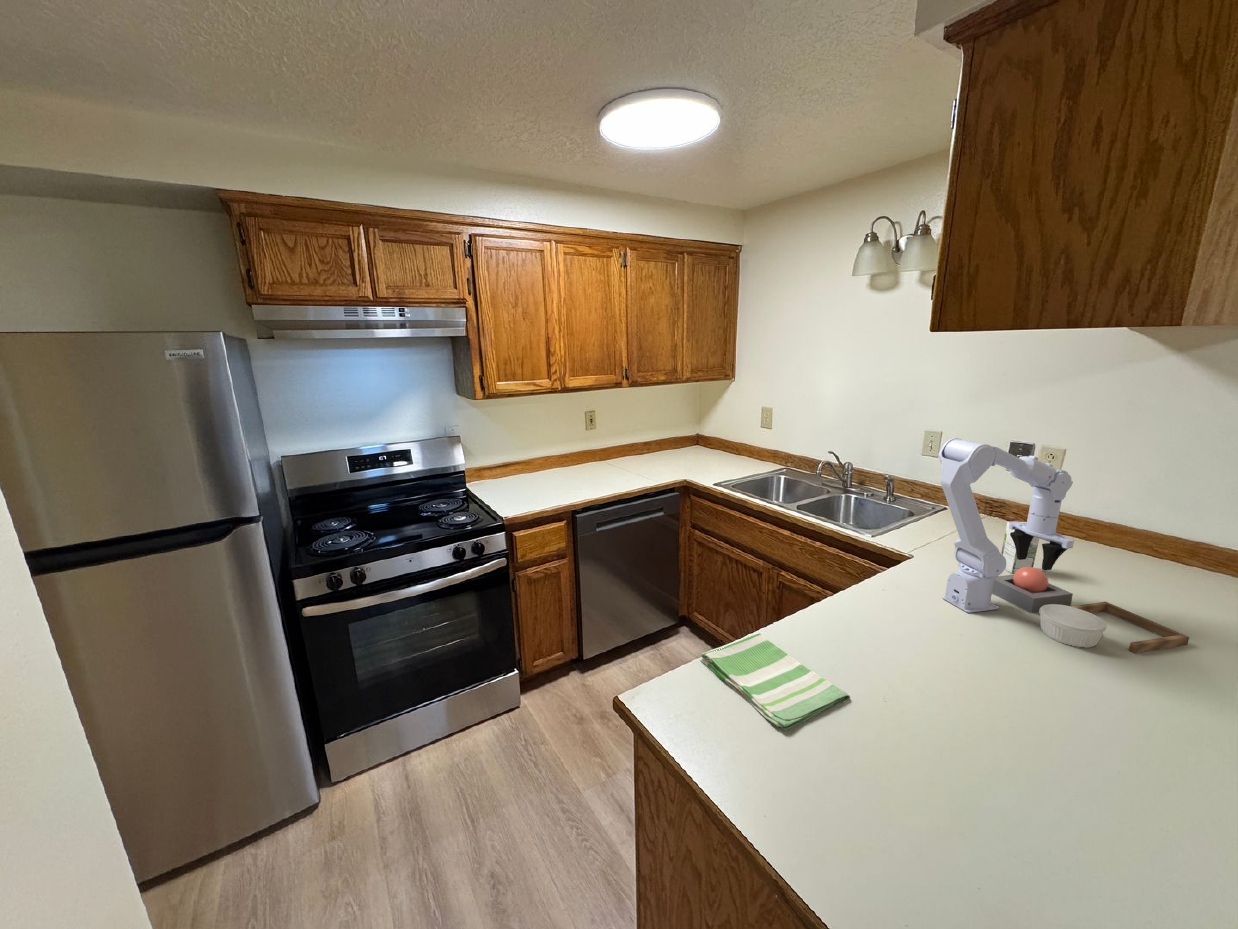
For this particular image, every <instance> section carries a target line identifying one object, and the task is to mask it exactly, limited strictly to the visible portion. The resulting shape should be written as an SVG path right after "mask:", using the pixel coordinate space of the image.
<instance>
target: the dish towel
mask: <svg viewBox="0 0 1238 929" xmlns="http://www.w3.org/2000/svg"><path fill="white" fill-rule="evenodd" d="M748 636H749V637H748ZM748 636H746V637H743V638H740V639H737V640H735V641H733V642H729V643H726V644H725V645H722V646H719V647H716V648H713V649H711V650H708V651H705V652H702V653H701V658H702V659H700V662H702V663H703V664H704V665H706V666H707V668H708V669H710V670H711V671H712V672H713V673H714V674H716V676H717V677H719V678H720V679H721V680H723V681H724V682H725V683H726V684H728V685H729V686H730V688H732V689H733V690H734V691H735V692H736V693H737V695H739V696H741V697H742V698H744V699H745V700H746V701H747V702H748V703H749V704H750V705H752V707H753V708H754V709H755V710H756V711H758V712H759V713H760V714H761V715H762V716H763V717H764V718H765V719H766V720H768V721H769V722H771V723H772V724H774V725H775V726H776V727H779V728H781V729H782V730H783V731H787V730H789V729H792V728H793V727H796V726H798V725H799V724H802V723H803V722H805V721H807V720H809V719H810V718H813V717H815V716H816V715H817V714H820V713H821V712H823V711H825V710H826V709H827V708H829V707H832V706H833V705H834V706H833V708H834V707H837V706H839V705H841V702H840V701H842V703H846V702H848V701H849V700H850V699H851V696H850V695H849V694H848V693H847V692H846V691H844V690H842V689H841V688H840V687H837V686H836V685H835V684H833V683H831V682H830V681H828V680H827V679H825V678H824V677H821V675H819V674H817V673H815V671H813V670H811V669H810V668H808V667H806V666H805V665H804V664H802V663H800V662H799V661H798V660H796V659H794V658H793V657H792V656H790V655H789V654H788V653H787V652H785V651H784V650H783V649H781V648H780V647H778V646H777V645H776V644H774V643H773V642H772V641H770V640H769V639H767V638H766V637H764V636H763V635H762V634H761V633H760V632H755V633H753V634H751V635H748ZM723 647H724V648H723ZM721 648H722V649H721ZM719 649H720V650H719ZM716 650H717V651H716ZM714 651H715V652H714ZM838 702H839V703H838Z"/></svg>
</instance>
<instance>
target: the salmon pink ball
mask: <svg viewBox="0 0 1238 929" xmlns="http://www.w3.org/2000/svg"><path fill="white" fill-rule="evenodd" d="M1013 575H1014V576H1013V581H1014V584H1015V586H1017V587H1019V588H1022V589H1024V590H1026V591H1028V592H1030V593H1040V592H1044V591H1045V590H1046V589H1047V587H1048V583H1049V579H1048V576H1046V573H1045V572H1043V571H1042V570H1040V569H1038V568H1036V567H1034V566H1033V567H1023V568H1020V569H1018V570H1017V571H1016V572H1015V574H1014V573H1013Z"/></svg>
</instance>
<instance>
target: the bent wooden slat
mask: <svg viewBox="0 0 1238 929" xmlns="http://www.w3.org/2000/svg"><path fill="white" fill-rule="evenodd" d="M1070 607H1074V608H1078V609H1081V610H1084V611H1086V612H1089V613H1091V614H1094V613H1103V612H1106V613H1109V614H1111V613H1112V614H1111V615H1113V614H1114V615H1113V616H1115V615H1116V616H1115V617H1117V618H1120V619H1123V620H1124V619H1126V620H1125V621H1127V620H1128V621H1127V622H1129V621H1130V622H1129V623H1131V622H1132V624H1133V623H1134V625H1136V626H1138V625H1139V626H1138V627H1140V626H1142V627H1141V628H1142V629H1145V628H1146V629H1145V630H1147V629H1148V630H1147V631H1149V632H1152V633H1154V632H1155V633H1154V634H1156V633H1157V634H1156V635H1159V636H1161V637H1156V638H1150V639H1144V640H1137V641H1132V642H1129V646H1128V647H1129V648H1128V652H1131V651H1132V652H1131V653H1133V654H1137V653H1138V652H1139V653H1145V652H1150V651H1149V650H1152V651H1157V650H1165V649H1170V648H1176V647H1183V646H1187V645H1188V644H1189V640H1190V636H1188V635H1186V634H1184V633H1182V632H1179V631H1178V630H1177V631H1176V630H1174V629H1173V628H1172V629H1171V628H1169V627H1168V626H1165V625H1162V624H1160V623H1157V622H1155V621H1153V620H1151V619H1148V618H1146V617H1144V616H1141V615H1138V614H1137V613H1134V612H1131V611H1129V610H1127V609H1124V608H1122V607H1120V606H1118V605H1114V604H1112V603H1110V602H1107V601H1100V602H1099V601H1098V602H1092V603H1084V604H1077V605H1070ZM1144 651H1145V652H1144ZM1139 653H1138V654H1139Z"/></svg>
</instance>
